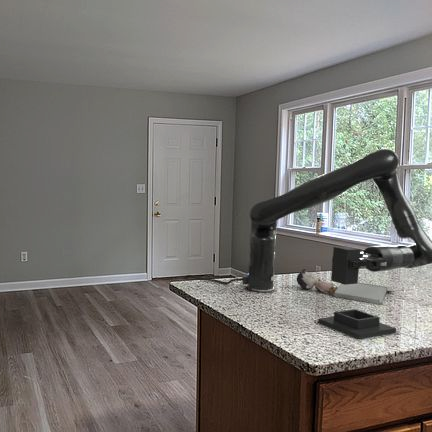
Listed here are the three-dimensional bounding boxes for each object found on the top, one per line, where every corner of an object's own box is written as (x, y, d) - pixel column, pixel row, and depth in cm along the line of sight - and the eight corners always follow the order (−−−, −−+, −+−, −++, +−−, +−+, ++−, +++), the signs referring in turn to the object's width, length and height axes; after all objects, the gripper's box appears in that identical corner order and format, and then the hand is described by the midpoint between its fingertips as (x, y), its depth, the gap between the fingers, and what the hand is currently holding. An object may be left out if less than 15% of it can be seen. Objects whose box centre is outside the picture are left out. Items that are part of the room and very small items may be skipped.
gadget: (379, 304, 146) (380, 293, 146) (332, 296, 155) (333, 286, 155) (392, 291, 163) (393, 281, 163) (349, 284, 173) (350, 275, 173)
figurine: (329, 293, 154) (291, 277, 164) (329, 306, 157) (291, 289, 167) (342, 277, 159) (304, 262, 169) (341, 290, 162) (304, 275, 172)
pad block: (344, 284, 122) (347, 249, 121) (330, 280, 127) (333, 246, 126) (357, 283, 124) (360, 249, 124) (343, 279, 129) (346, 246, 128)
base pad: (358, 339, 113) (359, 325, 113) (317, 322, 126) (318, 310, 126) (395, 332, 119) (396, 319, 118) (353, 317, 132) (353, 305, 131)
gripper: (362, 242, 137) (322, 245, 131) (405, 249, 124) (363, 253, 117) (361, 265, 138) (321, 270, 131) (404, 275, 125) (361, 280, 118)
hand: (341, 262), depth 124 cm, fingers closed on pad block, 5 cm apart
